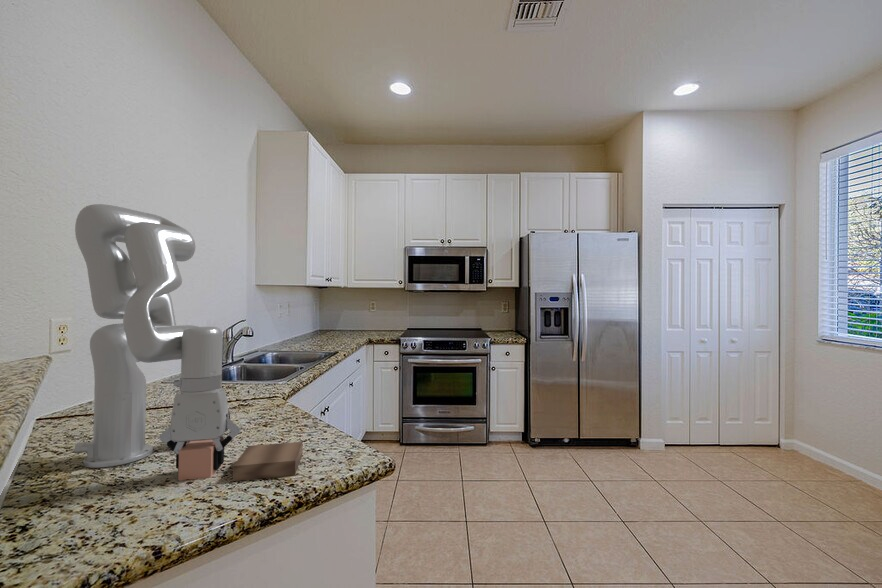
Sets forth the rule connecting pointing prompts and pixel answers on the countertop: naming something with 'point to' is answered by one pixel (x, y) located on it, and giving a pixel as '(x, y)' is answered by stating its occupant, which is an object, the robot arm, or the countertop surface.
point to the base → (268, 461)
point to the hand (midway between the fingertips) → (200, 468)
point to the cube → (196, 460)
